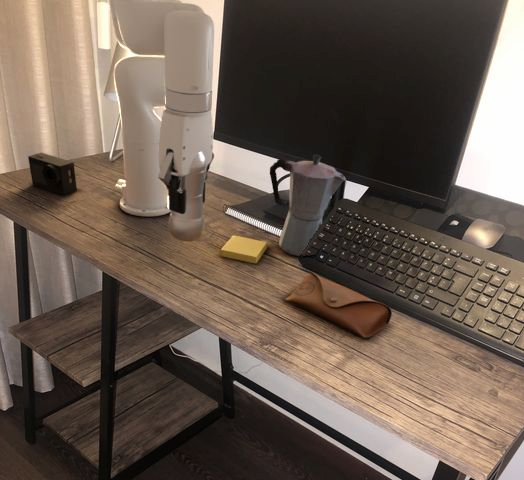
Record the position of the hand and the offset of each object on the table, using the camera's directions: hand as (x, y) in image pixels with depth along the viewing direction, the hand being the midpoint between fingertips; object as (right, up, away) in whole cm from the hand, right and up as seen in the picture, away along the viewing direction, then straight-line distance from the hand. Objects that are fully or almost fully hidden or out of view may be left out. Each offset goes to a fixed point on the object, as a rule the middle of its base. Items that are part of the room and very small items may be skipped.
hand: (187, 205), depth 101 cm
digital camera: (-37, +13, +34) cm, 52 cm away
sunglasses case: (+27, -20, -1) cm, 33 cm away
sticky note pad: (+10, -6, +15) cm, 19 cm away
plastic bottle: (-1, -5, +4) cm, 7 cm away
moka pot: (+21, -5, +19) cm, 29 cm away
